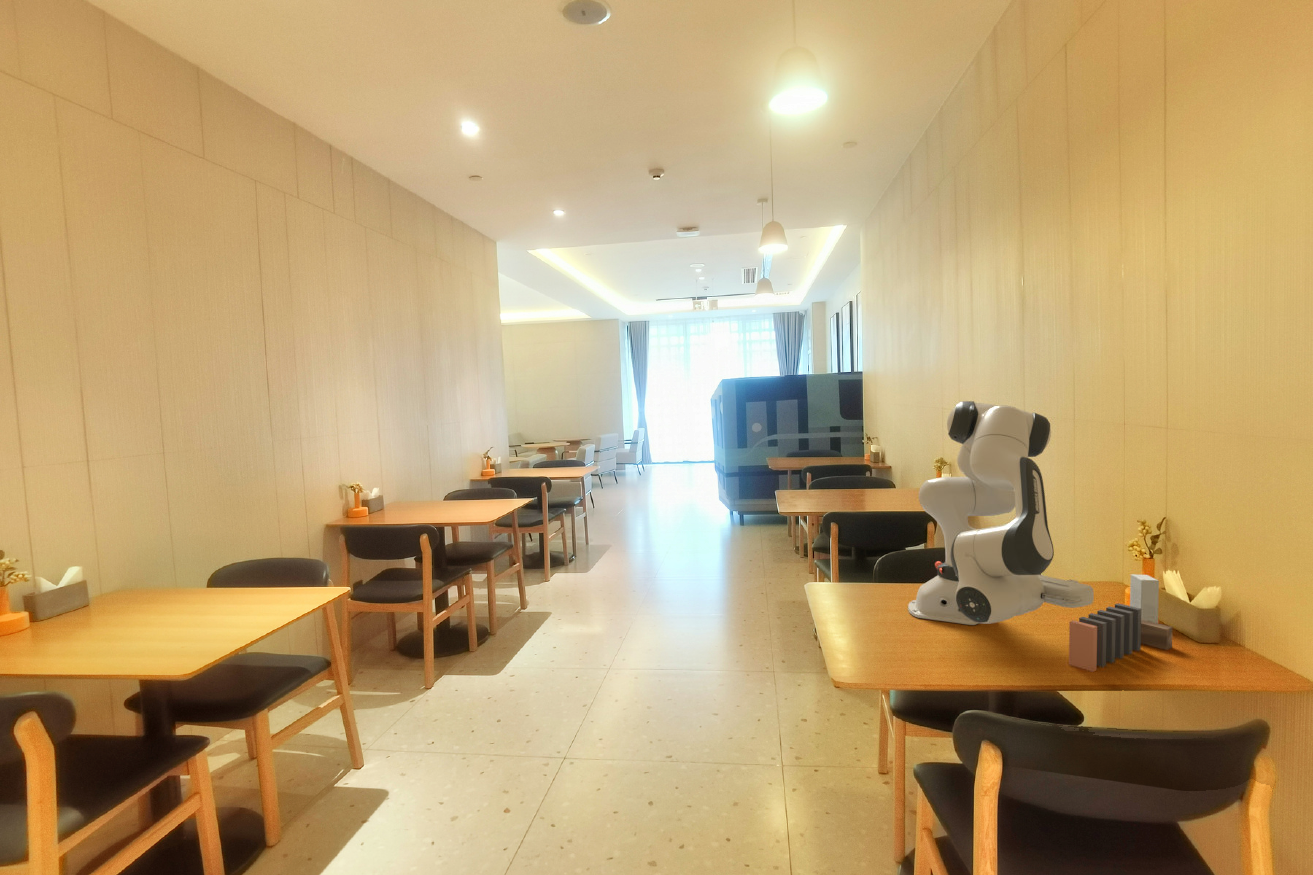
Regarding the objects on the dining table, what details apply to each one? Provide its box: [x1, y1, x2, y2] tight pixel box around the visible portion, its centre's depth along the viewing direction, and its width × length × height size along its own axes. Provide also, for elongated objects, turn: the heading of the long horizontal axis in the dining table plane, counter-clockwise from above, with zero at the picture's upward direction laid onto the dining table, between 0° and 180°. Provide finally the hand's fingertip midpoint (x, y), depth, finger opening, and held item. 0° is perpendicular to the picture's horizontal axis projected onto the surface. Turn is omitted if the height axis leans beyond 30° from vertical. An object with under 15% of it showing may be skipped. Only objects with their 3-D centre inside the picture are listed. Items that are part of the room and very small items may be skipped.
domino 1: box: [1068, 619, 1098, 673], centre depth 147 cm, size 2×5×10 cm, turn 31°
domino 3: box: [1087, 613, 1116, 664], centre depth 151 cm, size 2×5×10 cm, turn 31°
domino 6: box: [1114, 603, 1142, 652], centre depth 158 cm, size 2×5×10 cm, turn 31°
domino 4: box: [1096, 609, 1125, 660], centre depth 154 cm, size 2×5×10 cm, turn 31°
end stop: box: [1141, 620, 1173, 651], centre depth 162 cm, size 3×12×5 cm, turn 31°
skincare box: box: [1129, 574, 1160, 624], centre depth 175 cm, size 6×4×12 cm
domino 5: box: [1105, 606, 1133, 656], centre depth 156 cm, size 2×5×10 cm, turn 31°
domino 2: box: [1078, 616, 1107, 668], centre depth 149 cm, size 2×5×10 cm, turn 31°
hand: (1055, 579), depth 140 cm, fingers open, 6 cm apart
